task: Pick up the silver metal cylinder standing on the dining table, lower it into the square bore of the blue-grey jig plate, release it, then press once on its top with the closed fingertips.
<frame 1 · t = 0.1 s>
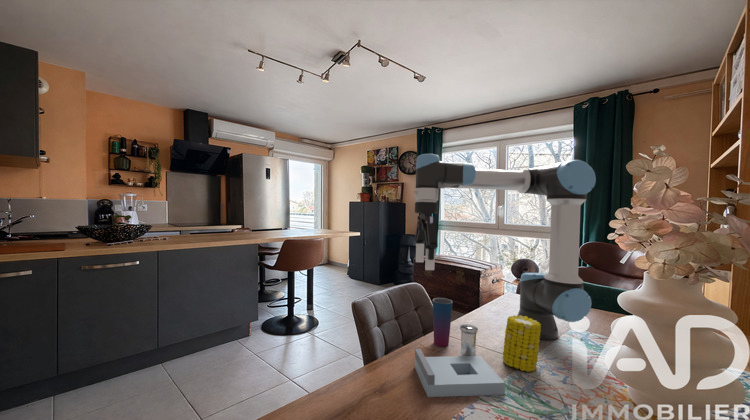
hand: (424, 265, 99), 28 cm above the table, fingers open, 13 cm apart
silver metal cylinder: (468, 359, 94), on the table
cup: (441, 344, 104), on the table
jig: (456, 379, 82), on the table
food: (520, 365, 91), on the table
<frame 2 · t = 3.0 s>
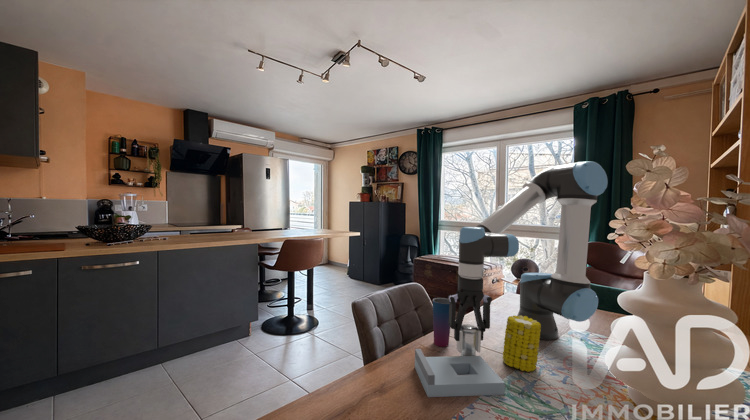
hand: (468, 350, 94), 3 cm above the table, fingers closed on silver metal cylinder, 5 cm apart
silver metal cylinder: (467, 359, 94), on the table, touching gripper
everything else where it was.
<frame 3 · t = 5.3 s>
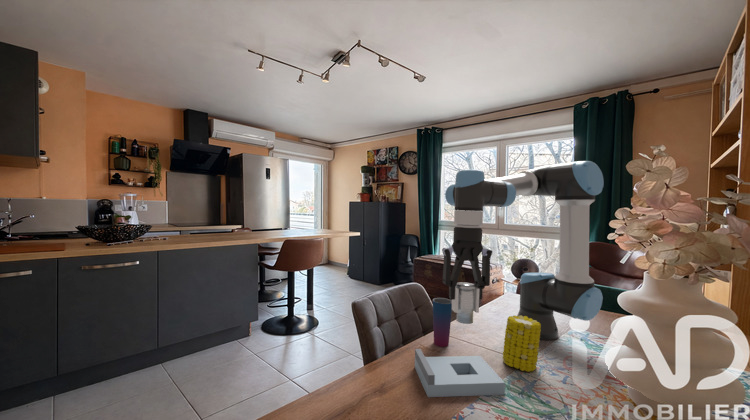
hand: (465, 310, 82), 19 cm above the table, fingers closed on silver metal cylinder, 5 cm apart
silver metal cylinder: (464, 320, 82), point 16 cm above the table, touching gripper
everything else where it was.
when the fingers open (4 cm above the table, at t = 7.8 s): silver metal cylinder drops 1 cm, resting in jig.
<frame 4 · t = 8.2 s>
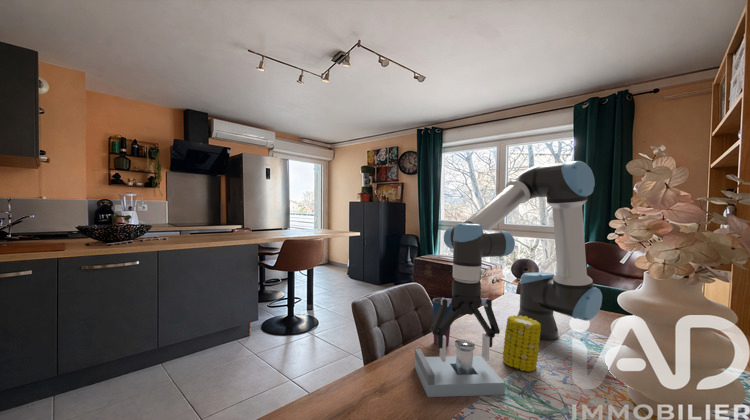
hand: (464, 359, 82), 6 cm above the table, fingers open, 11 cm apart
silver metal cylinder: (463, 379, 82), resting in jig
everything else where it was.
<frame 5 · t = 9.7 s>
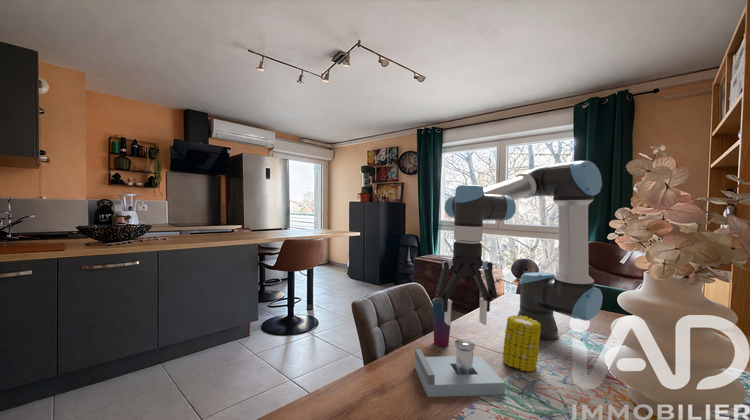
hand: (465, 323, 82), 16 cm above the table, fingers open, 9 cm apart
nothing on the table moved.
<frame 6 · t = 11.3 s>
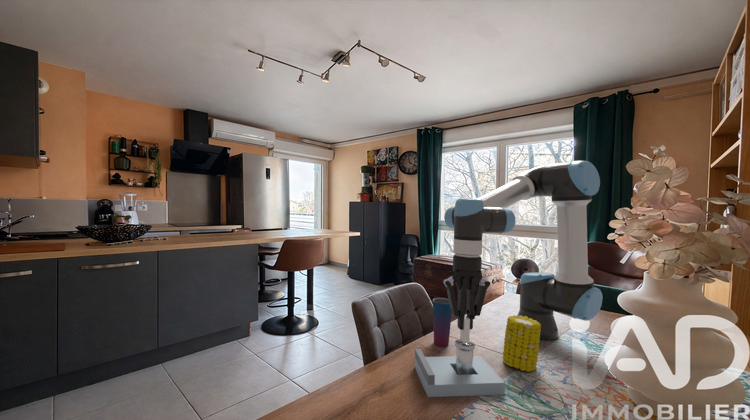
hand: (464, 340, 82), 11 cm above the table, fingers closed
nothing on the table moved.
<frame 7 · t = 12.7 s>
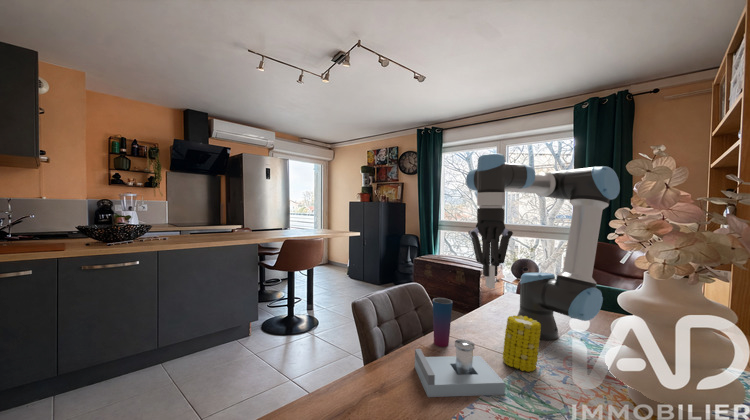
hand: (490, 287, 88), 24 cm above the table, fingers closed
nothing on the table moved.
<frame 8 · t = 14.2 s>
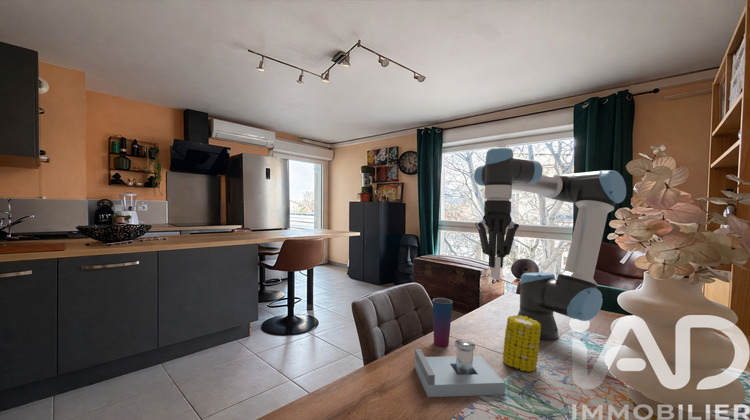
hand: (495, 278, 90), 26 cm above the table, fingers closed
nothing on the table moved.
at the end: silver metal cylinder 0.1 cm from the target spot on the jig, point 0.0 cm above the jig's base; silver metal cylinder tilted 1°; the gripper is holding nothing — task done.
